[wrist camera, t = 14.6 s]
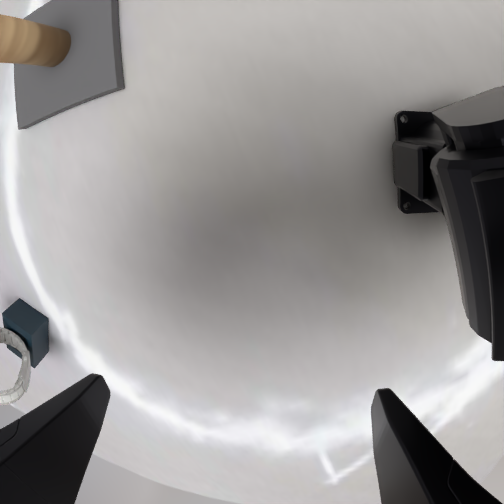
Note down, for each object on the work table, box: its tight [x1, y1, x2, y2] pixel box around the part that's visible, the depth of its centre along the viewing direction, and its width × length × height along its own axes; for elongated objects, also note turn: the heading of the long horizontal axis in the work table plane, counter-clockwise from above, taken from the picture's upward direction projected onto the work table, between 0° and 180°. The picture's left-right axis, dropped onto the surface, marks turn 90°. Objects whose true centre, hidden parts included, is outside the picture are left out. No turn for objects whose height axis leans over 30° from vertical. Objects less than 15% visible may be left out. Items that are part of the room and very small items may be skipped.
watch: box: [0, 298, 49, 405], centre depth 22 cm, size 6×8×11 cm
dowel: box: [0, 14, 71, 67], centre depth 12 cm, size 3×3×7 cm
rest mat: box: [14, 0, 124, 130], centre depth 16 cm, size 10×10×1 cm
